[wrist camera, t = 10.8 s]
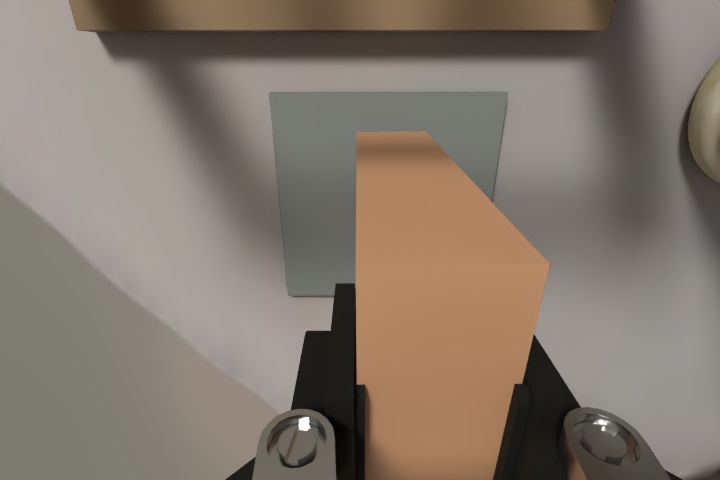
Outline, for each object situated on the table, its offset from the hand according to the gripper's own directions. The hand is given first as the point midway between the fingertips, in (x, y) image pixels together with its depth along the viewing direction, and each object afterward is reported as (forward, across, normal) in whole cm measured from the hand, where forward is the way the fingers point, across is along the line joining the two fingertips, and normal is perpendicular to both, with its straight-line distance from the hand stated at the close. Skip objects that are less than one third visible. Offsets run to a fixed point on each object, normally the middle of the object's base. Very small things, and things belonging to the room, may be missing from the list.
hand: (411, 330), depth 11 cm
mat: (+11, 0, 0) cm, 11 cm away
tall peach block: (+9, 0, 0) cm, 9 cm away
